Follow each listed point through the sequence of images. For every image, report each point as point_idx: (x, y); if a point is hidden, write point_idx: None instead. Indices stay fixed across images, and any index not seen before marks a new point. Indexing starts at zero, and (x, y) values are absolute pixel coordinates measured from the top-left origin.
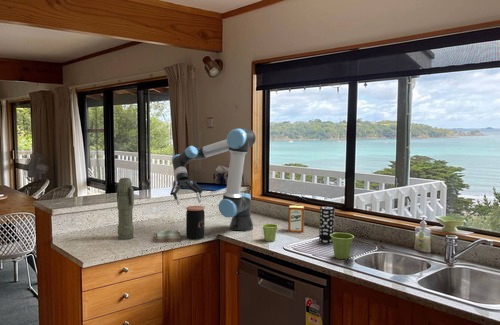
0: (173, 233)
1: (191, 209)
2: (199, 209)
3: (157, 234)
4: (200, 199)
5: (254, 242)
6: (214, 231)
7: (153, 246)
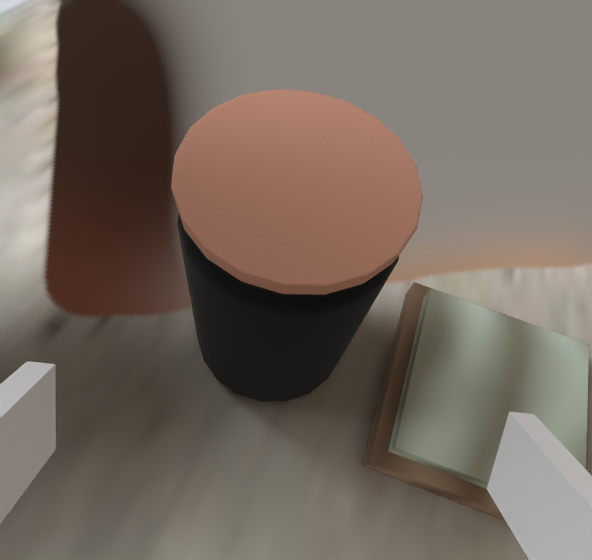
0: (457, 353)
1: (383, 127)
2: (294, 93)
3: (585, 389)
4: (18, 376)
5: (16, 73)
6: None
7: (585, 285)
